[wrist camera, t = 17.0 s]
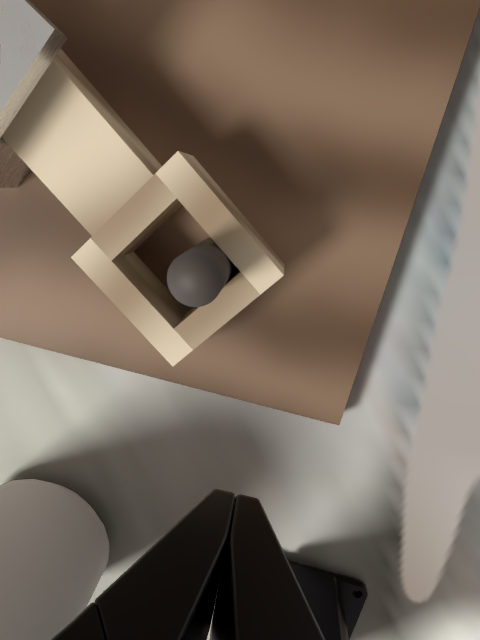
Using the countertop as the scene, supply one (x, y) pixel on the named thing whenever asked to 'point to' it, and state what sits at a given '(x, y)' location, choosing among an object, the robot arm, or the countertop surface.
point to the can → (46, 558)
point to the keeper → (21, 71)
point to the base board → (248, 180)
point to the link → (134, 208)
